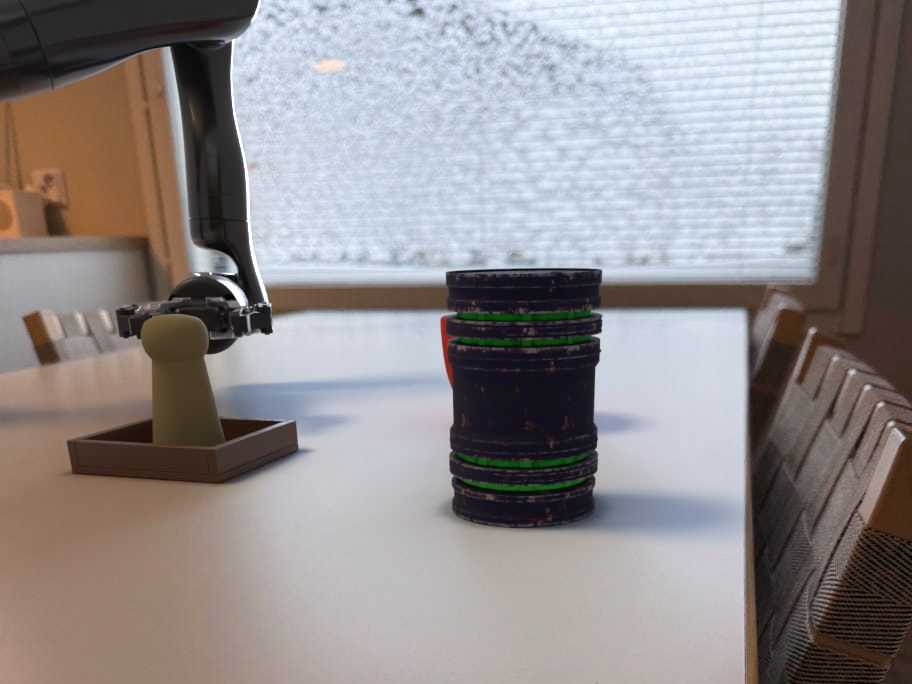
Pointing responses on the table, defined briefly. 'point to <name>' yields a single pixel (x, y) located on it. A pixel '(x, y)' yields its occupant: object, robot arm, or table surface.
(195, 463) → the serving tray
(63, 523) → the table surface
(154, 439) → the olive green pepper mill
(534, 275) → the storage jar
